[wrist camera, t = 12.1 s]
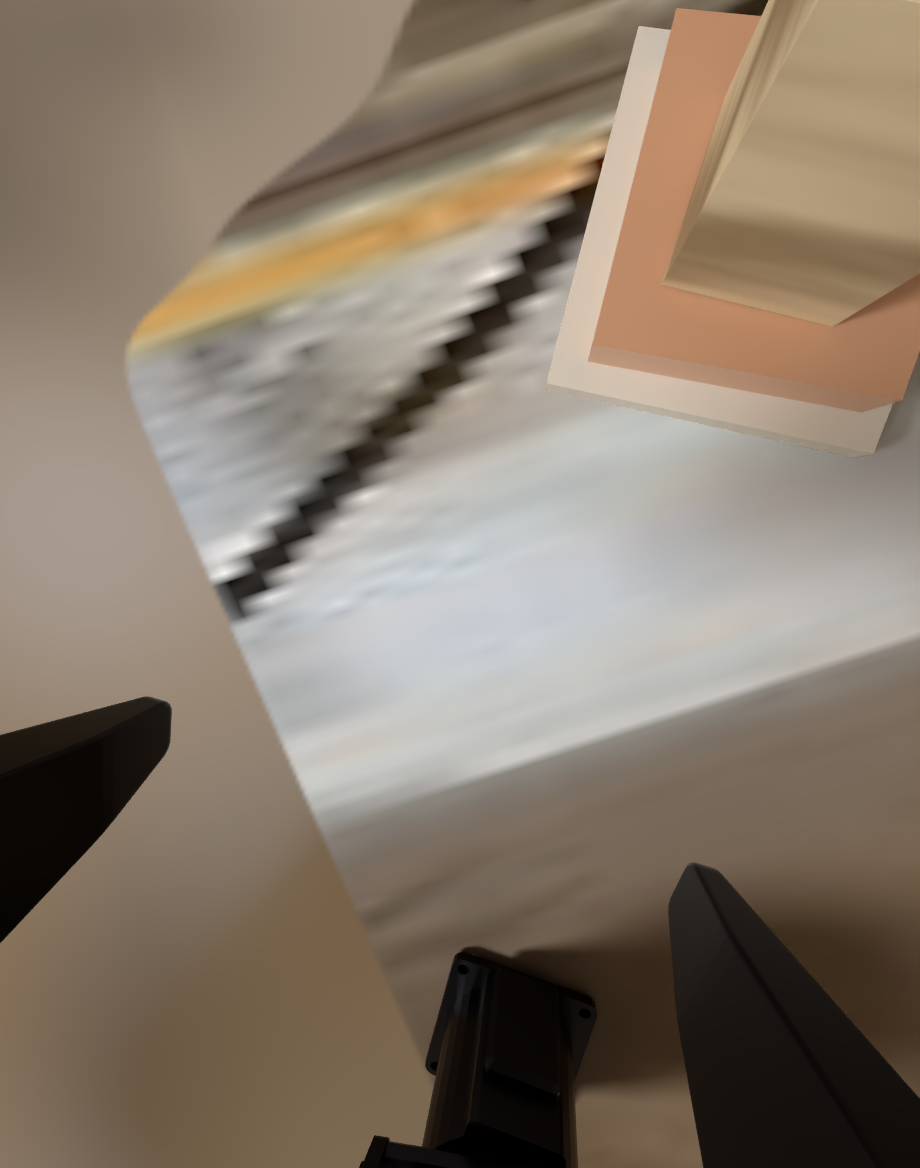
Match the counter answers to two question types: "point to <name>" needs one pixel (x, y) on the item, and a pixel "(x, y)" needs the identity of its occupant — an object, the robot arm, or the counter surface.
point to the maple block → (812, 165)
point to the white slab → (660, 392)
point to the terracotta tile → (714, 326)
